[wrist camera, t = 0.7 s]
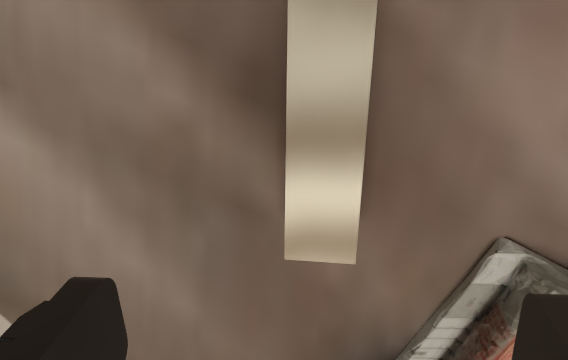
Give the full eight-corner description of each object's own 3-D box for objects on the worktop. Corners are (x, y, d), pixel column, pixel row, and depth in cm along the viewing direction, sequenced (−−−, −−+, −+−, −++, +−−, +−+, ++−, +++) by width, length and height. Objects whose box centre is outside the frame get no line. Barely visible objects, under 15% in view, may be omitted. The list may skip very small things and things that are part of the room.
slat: (298, -39, 23) (288, -44, 18) (372, -39, 23) (381, -43, 18) (293, 214, 28) (284, 259, 24) (352, 217, 28) (355, 264, 24)
